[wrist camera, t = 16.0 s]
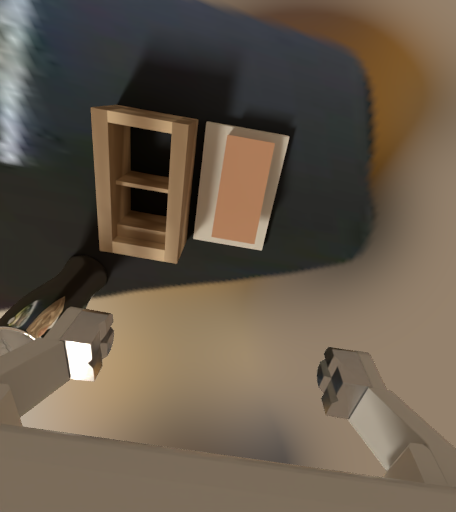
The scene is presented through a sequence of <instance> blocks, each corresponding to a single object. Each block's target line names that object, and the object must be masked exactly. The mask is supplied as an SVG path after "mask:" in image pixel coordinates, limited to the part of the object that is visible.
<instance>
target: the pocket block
mask: <svg viewBox="0 0 456 512" xmlns="http://www.w3.org/2000/svg"><path fill="white" fill-rule="evenodd" d="M91 120H92V136H93V152H94V167H95V183H96V199H97V215H98V231H99V246H100V251H105V252H111V253H117V254H123V255H129V256H134V257H140V258H146V259H152V260H158V261H164V262H170V263H176V264H177V262H178V260H179V257H180V255H181V253H182V250H183V248H184V246H185V243H186V240H187V230H188V220H189V210H190V200H191V190H192V180H193V170H194V160H195V150H196V140H197V130H198V120H199V119H193V118H188V117H182V116H176V115H171V114H165V113H160V112H154V111H149V110H143V109H137V108H132V107H126V106H121V105H110V106H100V107H91ZM130 126H131V127H137V128H143V129H148V130H154V131H159V132H165V133H171V134H172V137H171V153H170V170H169V177H164V176H158V175H152V174H147V173H141V172H135V171H131V147H130ZM131 187H135V188H140V189H146V190H152V191H158V192H163V193H168V203H167V217H166V216H160V215H155V214H149V213H143V212H137V211H131Z"/></svg>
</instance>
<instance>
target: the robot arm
mask: <svg viewBox="0 0 456 512" xmlns="http://www.w3.org/2000/svg"><path fill="white" fill-rule="evenodd" d="M112 323H113V315H112V314H111V313H106V312H100V311H94V310H89V309H81V308H76V307H69V308H67V309H66V311H65V312H64V313H63V314H62V315H61V317H60V318H59V319H58V320H57V322H56V323H55V324H54V325H53V327H52V328H51V329H50V330H49V331H48V333H47V334H46V335H45V336H44V338H37V339H35V340H33V341H31V342H29V343H27V344H24V345H22V346H20V347H18V348H16V349H14V350H12V351H10V352H8V353H6V354H4V355H2V356H0V512H456V448H455V447H453V445H451V444H450V443H449V442H448V441H447V440H446V439H445V438H444V437H442V436H441V435H440V434H439V433H438V432H437V431H436V430H435V429H434V428H432V427H431V426H430V425H429V424H428V423H427V422H426V421H425V420H423V419H422V418H421V417H420V416H419V415H418V414H417V413H416V412H414V411H413V410H412V409H411V408H410V407H409V406H408V405H407V404H406V403H405V402H403V401H402V400H401V399H400V398H399V397H398V396H397V395H396V394H394V393H393V392H392V391H390V390H387V388H386V386H385V384H384V382H383V380H382V378H381V376H380V374H379V371H378V369H377V367H376V365H375V363H374V361H373V359H372V357H371V355H370V354H369V353H367V352H361V351H353V350H346V349H339V348H332V347H328V348H327V349H326V351H325V353H324V356H325V359H324V360H323V361H321V362H320V364H319V366H318V370H317V382H318V386H319V388H320V389H321V391H322V392H323V393H324V394H323V396H322V398H321V399H322V403H323V407H324V411H325V415H327V416H332V417H338V418H344V419H349V422H350V423H351V425H352V426H353V427H354V429H355V430H356V431H357V433H358V434H359V435H360V437H361V438H362V439H363V441H364V442H365V443H366V445H367V446H368V447H369V449H370V450H371V451H372V453H373V454H374V455H375V457H376V458H377V459H378V460H379V462H380V463H381V465H382V466H383V467H384V468H385V470H386V473H385V474H384V475H383V476H382V477H377V476H370V475H363V474H356V473H349V472H342V471H335V470H327V469H320V468H313V467H305V466H299V465H291V464H284V463H277V462H270V461H263V460H256V459H249V458H241V457H234V456H227V455H220V454H213V453H206V452H198V451H192V450H185V449H178V448H170V447H163V446H156V445H149V444H142V443H135V442H128V441H120V440H114V439H107V438H99V437H92V436H85V435H78V434H71V433H64V432H57V431H50V430H43V429H36V428H28V427H23V426H22V423H21V420H20V417H21V416H23V415H24V414H25V413H26V412H28V411H29V410H30V409H32V408H33V407H34V406H36V405H37V404H38V403H40V402H41V401H42V400H44V399H45V398H46V397H48V396H49V395H50V394H52V393H53V392H54V391H56V390H57V389H58V388H59V387H61V386H62V385H63V384H65V383H66V382H67V381H69V380H70V379H69V378H71V379H79V380H87V381H95V379H96V377H97V375H98V373H99V371H100V369H101V367H102V359H103V358H105V357H106V356H107V355H108V354H109V352H110V350H111V347H112V344H113V338H114V330H113V329H112V328H111V325H112Z"/></svg>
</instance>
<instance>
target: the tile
mask: <svg viewBox="0 0 456 512" xmlns="http://www.w3.org/2000/svg"><path fill="white" fill-rule="evenodd" d="M274 146H275V143H271V142H266V141H260V140H254V139H249V138H243V137H238V136H232V135H227V141H226V147H225V153H224V160H223V166H222V172H221V179H220V185H219V191H218V198H217V204H216V210H215V217H214V223H213V229H212V236H211V237H215V238H221V239H226V240H232V241H238V242H244V243H249V244H255V239H256V234H257V229H258V224H259V219H260V214H261V210H262V205H263V200H264V195H265V190H266V185H267V180H268V175H269V170H270V165H271V160H272V156H273V151H274Z"/></svg>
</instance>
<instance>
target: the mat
mask: <svg viewBox="0 0 456 512" xmlns="http://www.w3.org/2000/svg"><path fill="white" fill-rule="evenodd" d="M227 135H232V136H238V137H243V138H249V139H254V140H260V141H266V142H271V143H275V146H274V151H273V156H272V160H271V165H270V170H269V175H268V180H267V185H266V190H265V195H264V200H263V205H262V210H261V214H260V219H259V224H258V229H257V234H256V239H255V244H249V243H244V242H238V241H232V240H226V239H221V238H215V237H211V236H212V229H213V223H214V217H215V210H216V204H217V198H218V191H219V185H220V179H221V172H222V166H223V160H224V153H225V147H226V141H227ZM288 141H289V136H288V135H282V134H277V133H271V132H265V131H260V130H254V129H249V128H243V127H238V126H232V125H226V124H221V123H215V122H210V121H207V122H206V130H205V139H204V148H203V157H202V166H201V175H200V184H199V193H198V202H197V211H196V219H195V228H194V237H193V239H197V240H203V241H209V242H215V243H221V244H227V245H232V246H238V247H244V248H250V249H256V250H262V248H263V244H264V239H265V235H266V231H267V227H268V223H269V219H270V215H271V211H272V207H273V203H274V199H275V194H276V190H277V186H278V182H279V178H280V174H281V170H282V166H283V162H284V158H285V154H286V150H287V145H288Z"/></svg>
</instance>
